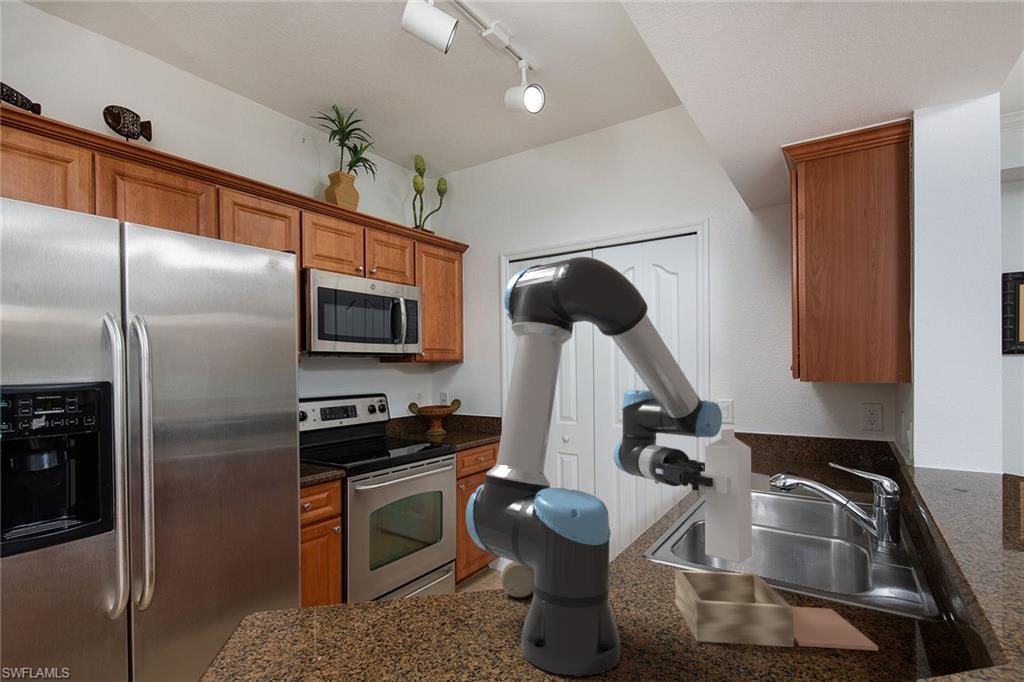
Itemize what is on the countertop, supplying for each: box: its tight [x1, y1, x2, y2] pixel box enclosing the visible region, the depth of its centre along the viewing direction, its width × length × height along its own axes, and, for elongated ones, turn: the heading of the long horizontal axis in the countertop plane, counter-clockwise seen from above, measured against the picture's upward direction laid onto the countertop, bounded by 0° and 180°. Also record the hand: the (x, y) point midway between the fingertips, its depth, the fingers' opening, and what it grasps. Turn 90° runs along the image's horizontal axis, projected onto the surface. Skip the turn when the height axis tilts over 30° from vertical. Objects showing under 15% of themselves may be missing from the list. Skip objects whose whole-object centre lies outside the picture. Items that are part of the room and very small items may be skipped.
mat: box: [792, 606, 879, 651], centre depth 89 cm, size 12×14×1 cm
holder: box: [674, 569, 795, 648], centre depth 91 cm, size 15×15×6 cm
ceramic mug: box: [500, 558, 534, 599], centre depth 103 cm, size 11×8×8 cm
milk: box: [704, 428, 753, 564], centre depth 93 cm, size 6×6×22 cm
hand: (748, 485), depth 88 cm, fingers closed on milk, 8 cm apart
